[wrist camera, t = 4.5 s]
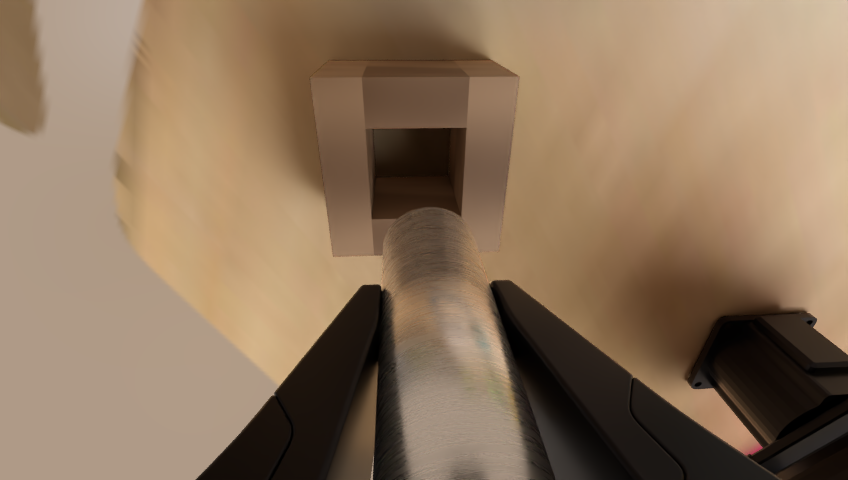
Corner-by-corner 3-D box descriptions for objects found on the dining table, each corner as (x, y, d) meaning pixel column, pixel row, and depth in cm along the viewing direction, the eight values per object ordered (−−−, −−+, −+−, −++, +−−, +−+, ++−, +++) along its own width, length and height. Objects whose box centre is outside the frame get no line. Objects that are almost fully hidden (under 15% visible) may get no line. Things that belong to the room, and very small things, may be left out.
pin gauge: (471, 283, 11) (592, 724, 4) (384, 286, 11) (371, 747, 4) (477, 205, 10) (658, 648, 3) (380, 207, 10) (350, 677, 3)
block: (479, 205, 21) (499, 251, 17) (344, 208, 21) (333, 256, 17) (491, 59, 17) (519, 76, 14) (328, 60, 17) (309, 77, 13)
